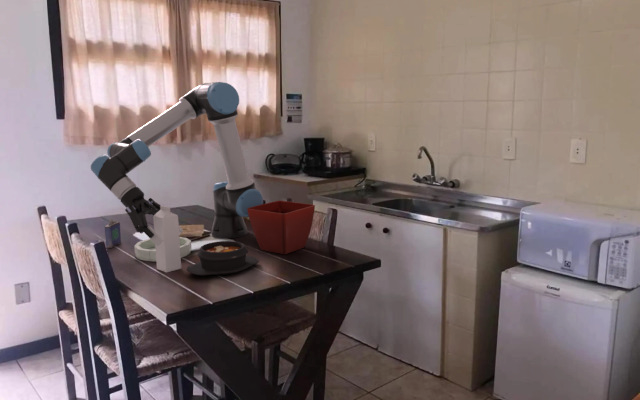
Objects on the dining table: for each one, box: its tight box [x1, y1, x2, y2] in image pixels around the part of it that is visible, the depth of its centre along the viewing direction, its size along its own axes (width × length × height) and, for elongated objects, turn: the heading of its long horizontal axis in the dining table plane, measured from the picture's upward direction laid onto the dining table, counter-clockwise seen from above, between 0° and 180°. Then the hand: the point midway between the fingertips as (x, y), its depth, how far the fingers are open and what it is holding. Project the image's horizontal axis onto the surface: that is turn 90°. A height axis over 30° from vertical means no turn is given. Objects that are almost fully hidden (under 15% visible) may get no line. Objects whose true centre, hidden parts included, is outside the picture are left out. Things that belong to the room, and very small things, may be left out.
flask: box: [104, 219, 122, 249], centre depth 211 cm, size 9×3×11 cm, turn 172°
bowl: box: [133, 236, 192, 262], centre depth 200 cm, size 20×20×4 cm
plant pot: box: [247, 200, 316, 255], centre depth 203 cm, size 19×19×17 cm
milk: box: [152, 205, 182, 273], centre depth 180 cm, size 6×6×22 cm
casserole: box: [186, 240, 260, 277], centre depth 179 cm, size 25×19×8 cm
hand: (171, 238), depth 179 cm, fingers open, 13 cm apart
